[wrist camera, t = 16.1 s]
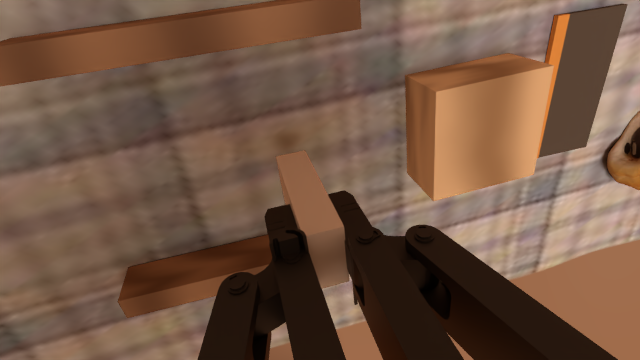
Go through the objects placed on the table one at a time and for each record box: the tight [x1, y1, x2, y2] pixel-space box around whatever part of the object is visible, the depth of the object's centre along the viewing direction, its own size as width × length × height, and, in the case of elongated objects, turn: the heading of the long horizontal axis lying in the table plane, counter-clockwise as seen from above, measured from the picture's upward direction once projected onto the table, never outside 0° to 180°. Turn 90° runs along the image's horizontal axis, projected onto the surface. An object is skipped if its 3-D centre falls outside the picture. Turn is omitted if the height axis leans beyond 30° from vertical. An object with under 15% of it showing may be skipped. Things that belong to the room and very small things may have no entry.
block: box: [405, 53, 554, 201], centre depth 23 cm, size 7×7×4 cm
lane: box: [0, 0, 361, 318], centre depth 21 cm, size 16×16×3 cm
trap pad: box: [537, 4, 627, 158], centre depth 25 cm, size 5×10×1 cm, turn 7°
